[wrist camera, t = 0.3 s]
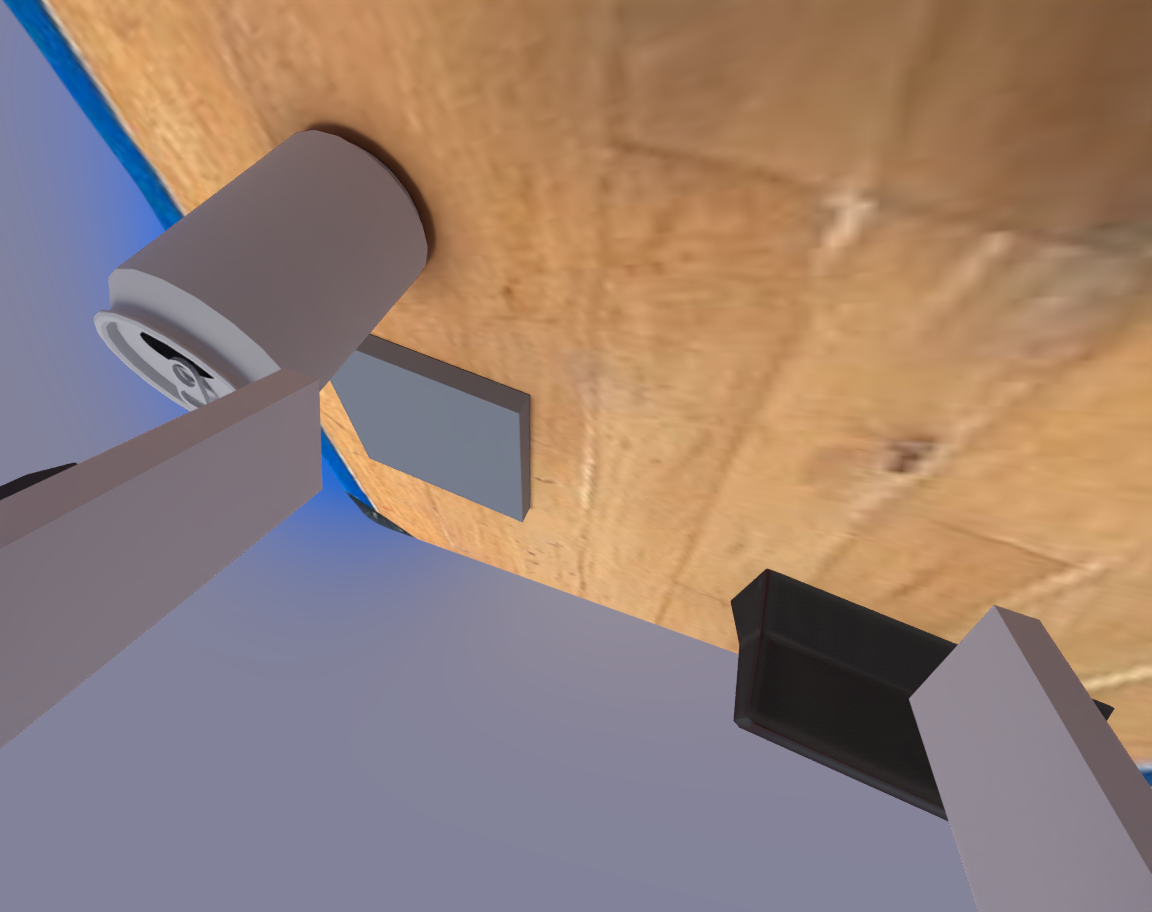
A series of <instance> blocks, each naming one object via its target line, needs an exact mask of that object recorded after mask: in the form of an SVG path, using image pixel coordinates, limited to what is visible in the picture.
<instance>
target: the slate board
mask: <svg viewBox="0 0 1152 912" xmlns="http://www.w3.org/2000/svg"><path fill="white" fill-rule="evenodd" d="M330 381H331V383H332V385H333V387H334V389H335V391H336V393H337V395H338V397H339V399H340V401H341V403H342V405H343V407H344V409H345V411H346V413H347V415H348V417H349V419H350V421H351V423H352V425H353V427H354V429H355V431H356V433H357V435H358V437H359V439H360V441H361V442H362V444H363V446H364V448H365V450H366V452H367V454H368V456H369V458H370V459H373V460H375V461H377V462H380V463H382V464H385V465H387V466H389V467H392V468H394V469H397V470H399V471H401V472H404V473H406V474H409V475H411V476H413V477H416V478H418V479H421V480H423V481H425V482H428V483H430V484H432V485H435V486H437V487H440V488H442V489H444V490H447V491H449V492H452V493H454V494H456V495H459V496H461V497H464V498H466V499H468V500H471V501H473V502H475V503H478V504H480V505H483V506H485V507H487V508H490V509H492V510H495V511H497V512H499V513H502V514H504V515H507V516H509V517H511V518H514V519H516V520H519V521H521V522H523V520H524V518H525V516H526V514H527V512H528V511H529V509H530V395H528V394H525V393H522V392H520V391H517V390H514V389H512V388H509V387H507V386H504V385H501V384H499V383H496V382H493V381H491V380H488V379H486V378H483V377H480V376H478V375H475V374H473V373H470V372H467V371H465V370H462V369H459V368H457V367H454V366H452V365H449V364H446V363H444V362H441V361H438V360H436V359H433V358H431V357H428V356H425V355H423V354H420V353H417V352H415V351H412V350H410V349H407V348H404V347H402V346H399V345H397V344H394V343H391V342H389V341H386V340H383V339H381V338H378V337H376V336H373V335H370V334H369V335H368V336H367V337H366V338H365V339H364V341H363V342H362V343H361V344H360V345H359V346H358V348H357V349H356V350H355V351H354V352H353V353H352V355H351V356H350V357H349V358H348V359H347V360H346V362H345V363H344V364H343V365H342V366H341V367H340V369H339V370H338V371H337V372H336V373H335V374H334V376H333V377H332V378H331V379H330Z"/></svg>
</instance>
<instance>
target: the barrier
mask: <svg viewBox="0 0 1152 912" xmlns="http://www.w3.org/2000/svg"><path fill="white" fill-rule="evenodd" d="M731 606H732V611H733V616H734V620H735V625H736V630H737V635H738V640H739V658H738V671H737V685H736V696H735V709H734V722H735V723H736V724H737V725H738V726H739V728H742V729H744V730H746V731H748V732H751V733H753V734H755V735H758V736H760V737H762V738H764V739H766V740H768V741H771V742H773V743H775V744H777V745H780V746H782V747H784V748H786V749H788V750H791V751H793V752H795V753H797V754H800V755H802V756H804V757H806V758H809V759H811V760H813V761H815V762H817V763H820V764H822V765H824V766H826V767H829V768H831V769H833V770H835V771H837V772H840V773H842V774H844V775H846V776H849V777H851V778H853V779H855V780H858V781H860V782H862V783H864V784H867V785H869V786H871V787H873V788H875V789H878V790H880V791H882V792H884V793H887V794H889V795H891V796H893V797H895V798H898V799H900V800H902V801H904V802H907V803H909V804H911V805H913V806H915V807H918V808H920V809H922V810H925V811H927V812H929V813H931V814H933V815H936V816H938V817H940V818H942V819H944V820H947V821H948V818H947V815H946V812H945V809H944V805H943V802H942V799H941V796H940V793H939V790H938V787H937V784H936V781H935V778H934V775H933V772H932V768H931V765H930V762H929V759H928V756H927V753H926V750H925V747H924V744H923V741H922V738H921V735H920V732H919V728H918V725H917V722H916V719H915V716H914V713H913V710H912V707H911V704H910V701H909V698H910V697H911V696H912V695H913V694H914V693H915V692H916V691H917V689H918V688H919V687H920V686H921V685H922V684H923V683H924V682H925V681H926V679H927V678H928V677H929V676H930V675H931V674H932V673H933V672H934V671H935V670H936V668H937V667H938V666H939V665H940V664H941V663H942V662H943V661H944V660H945V659H946V657H947V656H948V655H949V654H950V653H951V652H952V651H953V650H954V649H955V648H956V646H957V644H955V643H952V642H950V641H947V640H945V639H942V638H940V637H937V636H935V635H932V634H930V633H927V632H925V631H923V630H920V629H918V628H915V627H913V626H910V625H908V624H905V623H903V622H900V621H898V620H895V619H893V618H890V617H888V616H885V615H883V614H880V613H878V612H875V611H873V610H870V609H868V608H865V607H863V606H860V605H858V604H855V603H853V602H850V601H848V600H845V599H843V598H840V597H838V596H835V595H833V594H830V593H828V592H825V591H823V590H820V589H818V588H815V587H813V586H810V585H808V584H806V583H803V582H801V581H798V580H796V579H793V578H791V577H788V576H786V575H783V574H781V573H778V572H776V571H772V570H770V569H766V570H765V571H763V572H762V573H761V574H760V575H759V576H758V577H757V578H756V579H754V580H753V581H752V582H751V583H750V584H749V585H748V586H747V587H746V588H744V589H743V590H742V591H741V592H740V593H739V594H738V595H737V596H736V597H734V598H733V599H732V600H731ZM1092 700H1093V701H1094V703H1095V705H1096V706H1097V708H1098V709H1099V711H1100V712H1101V714H1102V715H1103V717H1104V718H1105V720H1106V721H1107V720H1108V718H1109V716H1110V715H1111V713H1112V712H1113V710H1114V708H1113V707H1111V706H1109V705H1107V704H1104V703H1102V702H1099V701H1097V700H1094V699H1092Z"/></svg>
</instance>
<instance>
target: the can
mask: <svg viewBox="0 0 1152 912" xmlns="http://www.w3.org/2000/svg"><path fill="white" fill-rule="evenodd" d="M427 249H428V246H427V242H426V238H425V234H424V230H423V226H422V223H421V221H420V218H419V214H418V211H417V209H416V207H415V205H414V203H413V201H412V199H411V197H410V195H409V193H408V192H407V190H406V189H405V188H404V186H403V185H402V184H401V183H400V181H399V180H398V179H397V177H396V176H395V175H394V173H393V172H392V171H390V170H389V169H388V168H387V167H386V166H385V165H384V164H383V163H382V162H380V161H379V160H378V159H377V158H376V157H375V156H374V155H372V154H370V153H368V152H367V151H365V150H363V149H362V148H360V147H358V146H356V145H355V144H351V143H349V142H347V141H346V140H344V139H342V138H341V137H339V136H336V135H332V134H328V133H325V132H321V131H317V130H310V131H304V132H297V133H295V134H293V135H292V136H291V137H289V138H288V139H287V140H285V141H284V142H283V143H281V144H280V145H279V146H277V147H276V148H275V149H274V150H272V151H271V152H270V153H268V154H267V155H266V156H264V157H263V158H262V159H260V160H259V161H258V162H256V163H255V164H254V165H252V166H251V167H250V168H248V169H247V170H246V171H244V172H243V173H242V174H240V175H239V176H238V177H236V178H235V179H234V180H233V181H231V182H230V183H229V184H227V185H226V186H225V187H223V188H222V189H221V190H219V191H218V192H217V193H215V194H214V195H213V196H211V197H210V198H209V199H207V200H206V201H205V202H203V203H202V204H201V205H199V206H198V207H197V208H196V209H194V210H193V211H192V212H190V213H189V214H188V215H186V216H185V217H184V218H182V219H181V220H180V221H178V222H177V223H176V224H174V225H173V226H172V227H170V228H169V229H168V230H166V231H165V232H164V233H163V234H161V235H160V236H159V237H157V238H156V239H155V240H154V241H152V242H151V243H149V244H148V245H147V246H145V247H144V248H143V249H141V250H140V251H139V252H137V253H136V254H135V255H133V256H132V257H131V258H129V259H128V260H127V261H125V262H124V263H123V264H122V265H120V266H119V267H117V268H116V269H115V270H114V271H113V273H112V274H111V275H110V276H109V278H108V280H109V292H110V305H111V310H109V311H107V310H101V311H99V312H98V313H97V314H96V316H95V317H94V323H95V326H96V329H97V332H98V334H99V335H100V337H101V338H102V339H103V340H104V342H105V343H106V344H107V346H108V347H109V348H110V349H111V350H112V351H113V352H114V353H115V354H116V355H117V356H118V357H119V358H120V359H121V360H122V361H123V362H124V363H125V364H126V365H127V366H128V367H129V368H130V369H132V370H133V371H134V372H135V373H137V374H138V375H139V376H140V377H141V378H143V379H144V380H145V381H146V382H147V383H149V384H150V385H151V386H153V387H154V388H156V389H157V390H158V391H160V392H161V393H163V394H164V395H165V396H167V397H168V398H170V399H171V400H173V401H174V402H176V403H177V404H179V405H181V406H182V407H184V408H185V409H187V410H189V411H190V412H191V411H193V410H195V409H197V408H199V407H202V406H204V405H206V404H208V403H210V402H212V401H214V400H217V399H219V398H221V397H223V396H225V395H227V394H229V393H232V392H234V391H236V390H238V389H240V388H242V387H244V386H247V385H249V384H251V383H253V382H255V381H257V380H259V379H262V378H264V377H266V376H268V375H270V374H272V373H274V372H277V371H279V370H281V369H283V368H287V369H290V370H293V371H296V372H299V373H302V374H305V375H308V376H311V377H314V378H317V379H319V392H320V391H321V390H322V388H323V387H324V386H325V385H326V384H327V383H328V381H329V380H330V379H331V378H332V377H333V376H334V374H335V373H336V372H337V371H338V370H339V369H340V367H341V366H342V365H343V364H344V363H345V362H346V360H347V359H348V358H349V357H350V356H351V355H352V353H353V352H354V351H355V350H356V349H357V348H358V346H359V345H360V344H361V343H362V342H363V341H364V339H365V338H366V337H367V336H368V335H369V333H370V332H371V331H372V330H373V329H374V328H375V326H376V325H377V324H378V323H379V322H380V321H381V319H382V318H383V317H384V316H385V315H386V314H387V312H388V311H389V310H390V309H391V308H392V307H393V305H394V304H395V303H396V302H397V301H398V300H399V298H400V297H401V296H402V295H403V294H404V293H405V291H406V290H407V289H408V288H409V287H410V286H411V284H412V283H413V282H414V281H415V280H416V279H417V277H418V276H419V275H420V273H421V272H422V270H423V269H424V267H425V266H426V259H427Z"/></svg>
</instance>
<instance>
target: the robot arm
mask: <svg viewBox="0 0 1152 912" xmlns="http://www.w3.org/2000/svg"><path fill="white" fill-rule="evenodd" d="M321 490H322V463H321V429H320V397H319V379H317V378H314V377H311V376H308V375H305V374H302V373H299V372H296V371H293V370H290V369H287V368H283V369H281V370H279V371H277V372H274V373H272V374H270V375H268V376H266V377H264V378H262V379H259V380H257V381H255V382H253V383H251V384H249V385H247V386H244V387H242V388H240V389H238V390H236V391H234V392H232V393H229V394H227V395H225V396H223V397H221V398H219V399H217V400H214V401H212V402H210V403H208V404H206V405H204V406H202V407H199V408H197V409H195V410H193V411H191V412H189V413H187V414H185V415H182V416H180V417H178V418H176V419H174V420H172V421H169V422H167V423H165V424H163V425H161V426H159V427H157V428H155V429H152V430H150V431H148V432H146V433H144V434H142V435H139V436H138V437H135V438H133V439H131V440H129V441H127V442H124V443H123V444H120V445H118V446H116V447H114V448H112V449H110V450H107V451H105V452H103V453H101V454H99V455H97V456H95V457H92V458H90V459H88V460H86V461H84V462H82V463H79V464H77V463H71V464H66V465H63V466H59V467H55V468H51V469H47V470H43V471H40V472H35V473H32V474H28V475H25V476H23V477H20V478H18V479H16V480H14V481H11V482H9V483H7V484H5V485H2V486H0V749H1V748H2V747H3V746H4V745H5V744H7V743H8V742H9V741H10V740H12V739H13V738H14V737H15V736H17V735H18V734H19V733H20V732H22V731H23V730H24V729H25V728H27V727H28V726H29V725H30V724H32V723H33V722H34V721H35V720H37V719H38V718H39V717H40V716H41V715H43V714H44V713H45V712H46V711H48V710H49V709H50V708H51V707H53V706H54V705H55V704H56V703H58V702H59V701H60V700H61V699H63V698H64V697H65V696H66V695H68V694H69V693H70V692H71V691H72V690H74V689H75V688H76V687H77V686H79V685H80V684H81V683H82V682H84V681H85V680H86V679H87V678H89V677H90V676H91V675H92V674H94V673H95V672H96V671H97V670H99V669H100V668H101V667H102V666H104V665H105V664H106V663H107V662H108V661H110V660H111V659H112V658H113V657H115V656H116V655H117V654H118V653H120V652H121V651H122V650H123V649H125V648H126V647H127V646H128V645H130V644H131V643H132V642H133V641H134V640H136V639H137V638H138V637H140V636H141V635H142V634H143V633H144V632H146V631H147V630H148V629H150V628H151V627H152V626H153V625H154V624H156V623H157V622H158V621H159V620H161V619H162V618H163V617H164V616H166V615H167V614H168V613H169V612H171V611H172V610H173V609H174V608H176V607H177V606H178V605H179V604H181V603H182V602H183V601H184V600H186V599H187V598H188V597H189V596H191V595H192V594H193V593H194V592H195V591H197V590H198V589H199V588H200V587H202V586H203V585H204V584H205V583H207V582H208V581H209V580H210V579H212V578H213V577H214V576H215V575H217V574H218V573H219V572H220V571H221V570H223V569H224V568H225V567H226V566H228V565H229V564H230V563H231V562H233V561H234V560H235V559H236V558H238V557H239V556H240V555H241V554H243V553H244V552H245V551H246V550H247V549H249V548H250V547H251V546H252V545H254V544H255V543H256V542H257V541H259V540H260V539H261V538H262V537H264V536H265V535H266V534H267V533H269V532H270V531H271V530H272V529H274V528H275V527H276V526H277V525H279V524H280V523H281V522H282V521H284V520H285V519H286V518H287V517H289V516H290V515H291V514H292V513H294V512H295V511H296V510H297V509H298V508H300V507H301V506H302V505H303V504H305V503H306V502H307V501H308V500H310V499H311V498H312V497H313V496H315V495H316V494H317V493H318V492H320V491H321ZM909 701H910V704H911V707H912V710H913V713H914V716H915V719H916V722H917V725H918V728H919V732H920V735H921V738H922V741H923V744H924V747H925V750H926V753H927V756H928V759H929V762H930V765H931V768H932V772H933V775H934V778H935V781H936V784H937V787H938V790H939V793H940V796H941V799H942V802H943V805H944V809H945V812H946V815H947V818H948V821H949V824H950V827H951V830H952V833H953V836H954V839H955V842H956V845H957V848H958V852H959V855H960V858H961V861H962V864H963V867H964V870H965V873H966V876H967V879H968V882H969V886H970V888H971V892H972V895H973V898H974V901H975V904H976V907H977V910H978V912H1152V789H1151V787H1150V786H1149V784H1148V783H1147V781H1146V780H1145V778H1144V777H1143V775H1142V774H1141V772H1140V771H1139V769H1138V768H1137V766H1136V765H1135V763H1134V762H1133V760H1132V759H1131V757H1130V756H1129V754H1128V753H1127V751H1126V750H1125V748H1124V747H1123V745H1122V744H1121V742H1120V741H1119V739H1118V738H1117V736H1116V735H1115V733H1114V732H1113V730H1112V729H1111V727H1110V726H1109V724H1108V723H1107V721H1106V720H1105V718H1104V717H1103V715H1102V714H1101V712H1100V711H1099V709H1098V708H1097V706H1096V705H1095V703H1094V701H1093V700H1092V698H1091V697H1090V695H1089V694H1088V692H1087V691H1086V689H1085V688H1084V686H1083V685H1082V683H1081V682H1080V680H1079V679H1078V677H1077V676H1076V674H1075V673H1074V671H1073V670H1072V668H1071V667H1070V665H1069V664H1068V662H1067V661H1066V659H1065V658H1064V656H1063V655H1062V653H1061V652H1060V650H1059V649H1058V647H1057V646H1056V644H1055V643H1054V641H1053V640H1052V638H1051V637H1050V635H1049V634H1048V632H1047V631H1046V629H1045V628H1044V626H1043V625H1042V623H1041V622H1040V620H1038V619H1035V618H1032V617H1029V616H1026V615H1023V614H1020V613H1017V612H1014V611H1011V610H1008V609H1005V608H1002V607H999V606H996V605H994V606H993V607H992V608H991V609H990V610H989V611H988V612H987V613H986V614H985V616H984V617H983V618H982V619H981V620H980V621H979V622H978V623H977V624H976V626H975V627H974V628H973V629H972V630H971V631H970V632H969V633H968V634H967V635H966V637H965V638H964V639H963V640H962V641H961V642H960V643H959V644H958V645H957V646H956V648H955V649H954V650H953V651H952V652H951V653H950V654H949V655H948V656H947V657H946V659H945V660H944V661H943V662H942V663H941V664H940V665H939V666H938V667H937V668H936V670H935V671H934V672H933V673H932V674H931V675H930V676H929V677H928V678H927V679H926V681H925V682H924V683H923V684H922V685H921V686H920V687H919V688H918V689H917V691H916V692H915V693H914V694H913V695H912V696H911V697H910V698H909Z"/></svg>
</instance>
